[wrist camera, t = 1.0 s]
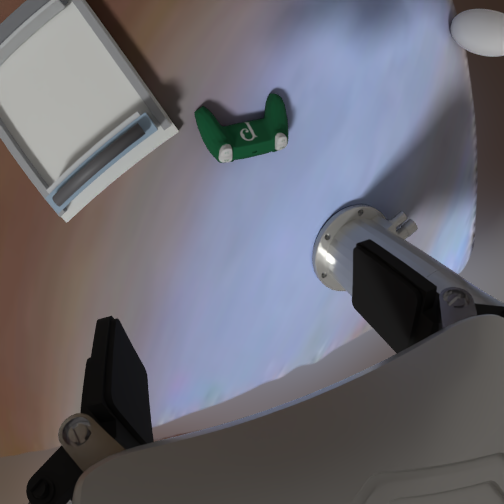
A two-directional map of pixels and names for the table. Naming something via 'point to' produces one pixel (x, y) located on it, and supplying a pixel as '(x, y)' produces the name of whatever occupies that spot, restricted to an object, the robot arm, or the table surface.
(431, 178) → the table surface
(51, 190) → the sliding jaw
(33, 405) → the table surface
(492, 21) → the white tall teardrop piece
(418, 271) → the robot arm
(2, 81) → the vise base
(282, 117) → the gaming controller
